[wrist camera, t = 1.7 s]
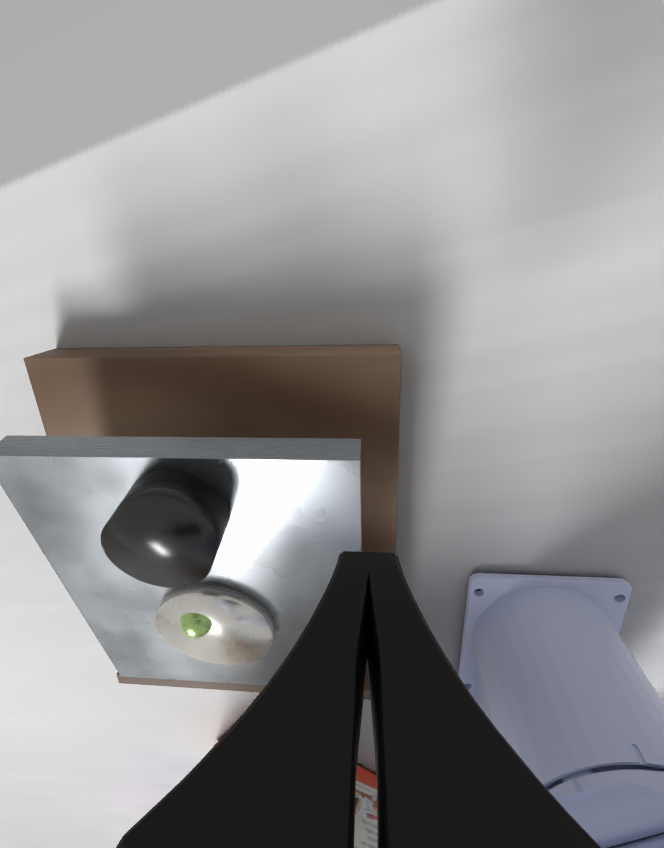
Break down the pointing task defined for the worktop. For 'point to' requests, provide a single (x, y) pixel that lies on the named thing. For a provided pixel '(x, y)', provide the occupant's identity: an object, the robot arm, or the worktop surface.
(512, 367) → the worktop surface
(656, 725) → the robot arm
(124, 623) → the plate
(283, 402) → the base
